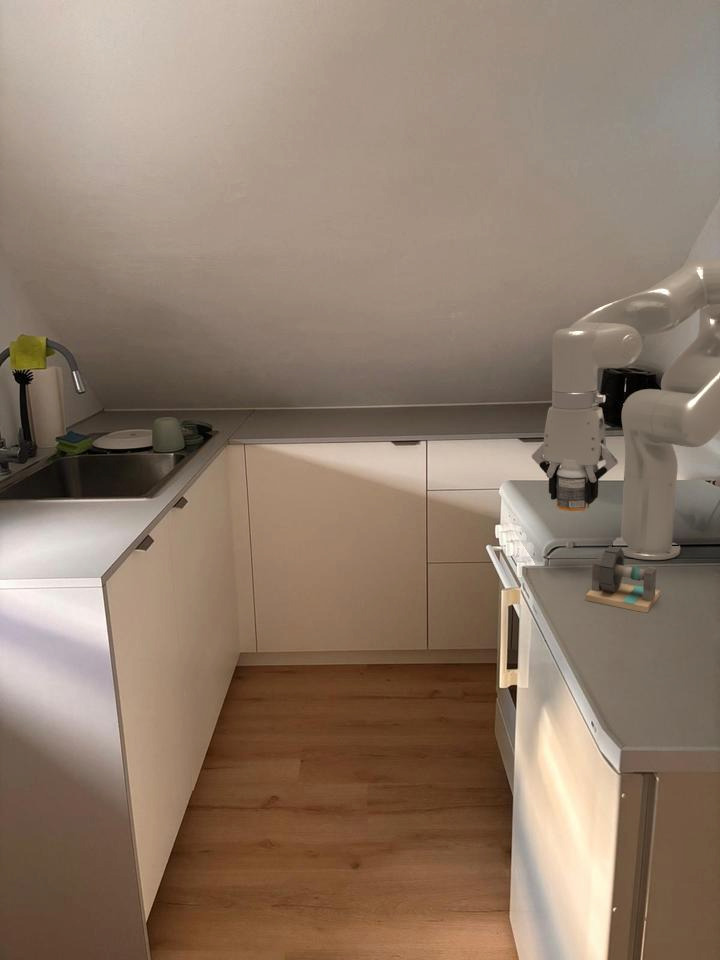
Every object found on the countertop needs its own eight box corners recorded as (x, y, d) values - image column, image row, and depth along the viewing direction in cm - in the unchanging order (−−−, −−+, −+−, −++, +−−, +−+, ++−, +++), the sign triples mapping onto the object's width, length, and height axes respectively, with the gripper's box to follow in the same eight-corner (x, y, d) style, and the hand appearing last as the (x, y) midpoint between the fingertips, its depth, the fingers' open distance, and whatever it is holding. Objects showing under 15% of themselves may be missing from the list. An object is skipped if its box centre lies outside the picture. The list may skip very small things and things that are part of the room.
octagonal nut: (611, 580, 133) (613, 542, 132) (623, 583, 132) (625, 544, 131) (598, 594, 128) (600, 554, 126) (610, 596, 127) (612, 556, 125)
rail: (600, 584, 135) (601, 553, 134) (659, 595, 130) (661, 562, 128) (585, 600, 129) (586, 567, 127) (647, 612, 123) (649, 578, 122)
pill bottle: (564, 503, 143) (565, 451, 140) (594, 508, 139) (595, 455, 137) (551, 512, 139) (551, 458, 136) (581, 516, 135) (582, 462, 132)
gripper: (631, 398, 132) (627, 499, 137) (535, 395, 142) (535, 489, 146) (618, 406, 126) (615, 511, 131) (519, 401, 136) (519, 499, 140)
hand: (573, 498), depth 138 cm, fingers closed on pill bottle, 5 cm apart
